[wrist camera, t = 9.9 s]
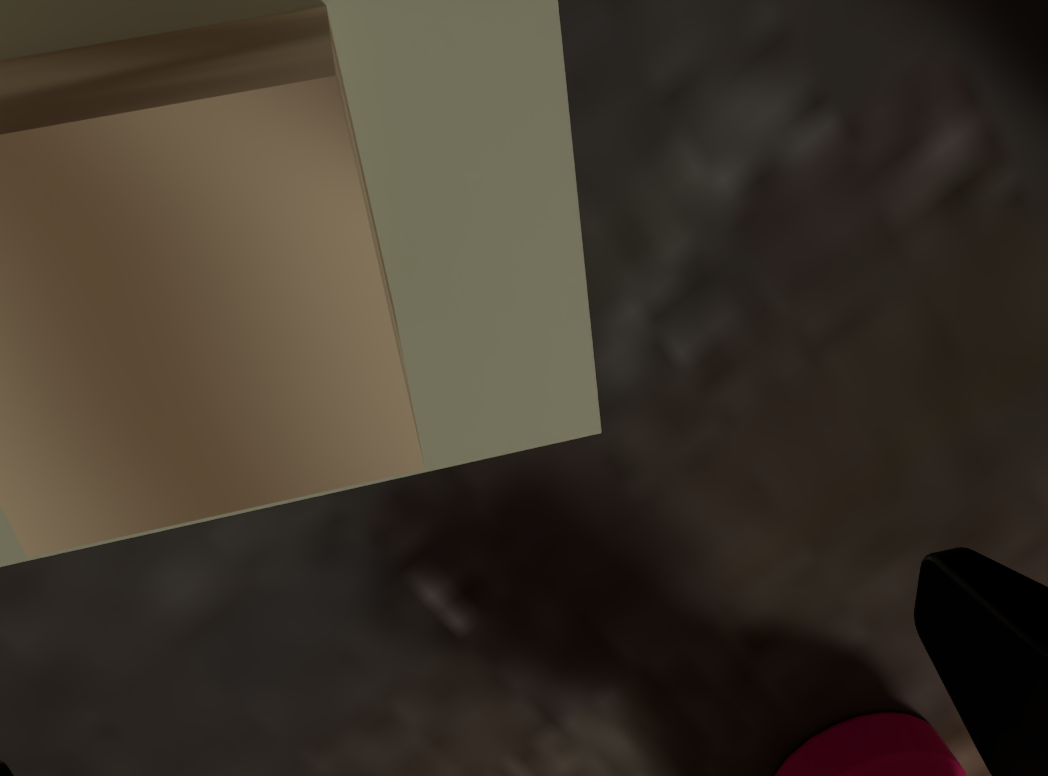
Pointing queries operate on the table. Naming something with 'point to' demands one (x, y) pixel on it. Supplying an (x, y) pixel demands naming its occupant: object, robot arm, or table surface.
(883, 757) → the pepper mill
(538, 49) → the sage base
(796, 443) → the table surface
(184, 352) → the maple cube
